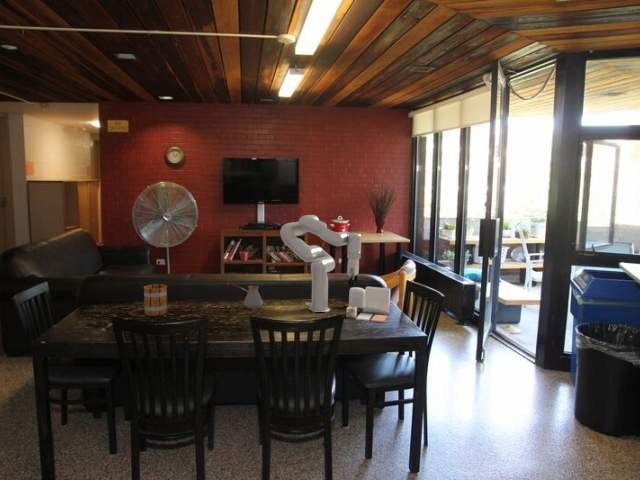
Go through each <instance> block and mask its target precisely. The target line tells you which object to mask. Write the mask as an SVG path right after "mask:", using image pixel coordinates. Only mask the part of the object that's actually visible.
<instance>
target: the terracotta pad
mask: <svg viewBox="0 0 640 480" xmlns="http://www.w3.org/2000/svg"><path fill="white" fill-rule="evenodd" d="M373 315H374V316H372V317H371V318H370V322H372V323H384V322H385V321H386V319H387V318H388V315H380V314H373Z"/></svg>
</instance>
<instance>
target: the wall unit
mask: <svg viewBox="0 0 640 480" xmlns="http://www.w3.org/2000/svg"><path fill="white" fill-rule="evenodd" d="M364 290H365V308H364V309H363V310H362V311H361V313H366V314H373V315H385V316H390V315H391V314H392V311H393V310H391V309H390V308H391V307H390V306H391V288H387V287H378V286H377V287H376V286H366V287H365V289H364Z"/></svg>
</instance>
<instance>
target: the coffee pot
mask: <svg viewBox="0 0 640 480" xmlns="http://www.w3.org/2000/svg"><path fill="white" fill-rule="evenodd" d="M229 285H230V286H234V287H235V288H237V289H240V290H242V291H245V292H246V293H247V294H246V296H245V298H244V301H243V305H244V307H245V308H246V309H249V310H257V309H260V307H262V305H263V303H264V301H263V300H262V297H261V295H260V292H259V285H248V286H247V289H245V288H243V287H241V286H240V285H237V284H234V283H233V282H230V281H229V282H228V283H227V286H229Z"/></svg>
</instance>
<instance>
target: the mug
mask: <svg viewBox="0 0 640 480" xmlns="http://www.w3.org/2000/svg"><path fill="white" fill-rule="evenodd" d="M167 291H168V285H166V284H160V283H159V284H157V283H156V284H148V285H143V297H144V298H143V305H144V312H143V315H146V316H162V315H166V314H168V294H167Z"/></svg>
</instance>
